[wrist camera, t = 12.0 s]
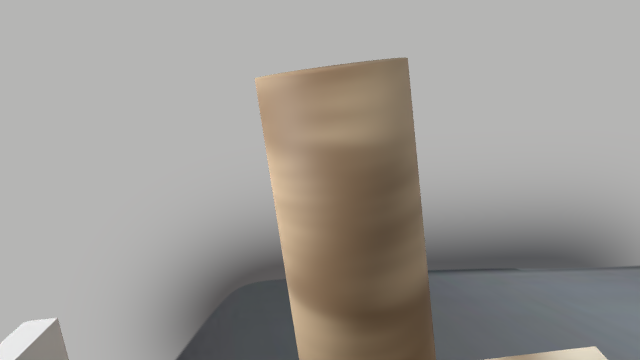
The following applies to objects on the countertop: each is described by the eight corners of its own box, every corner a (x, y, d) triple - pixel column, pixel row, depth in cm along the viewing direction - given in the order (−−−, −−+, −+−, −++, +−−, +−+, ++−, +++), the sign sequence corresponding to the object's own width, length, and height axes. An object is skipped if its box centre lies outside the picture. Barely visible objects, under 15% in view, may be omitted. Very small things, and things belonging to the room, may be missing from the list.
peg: (437, 460, 22) (398, 56, 18) (469, 567, 17) (425, 58, 14) (322, 473, 22) (260, 74, 18) (323, 583, 18) (241, 83, 14)
